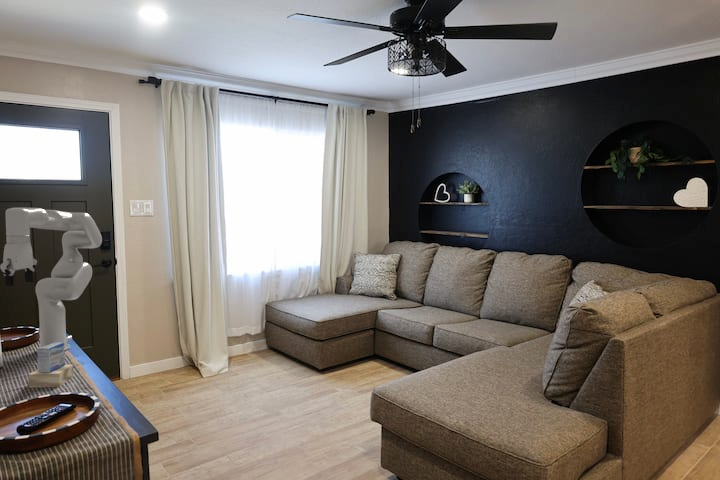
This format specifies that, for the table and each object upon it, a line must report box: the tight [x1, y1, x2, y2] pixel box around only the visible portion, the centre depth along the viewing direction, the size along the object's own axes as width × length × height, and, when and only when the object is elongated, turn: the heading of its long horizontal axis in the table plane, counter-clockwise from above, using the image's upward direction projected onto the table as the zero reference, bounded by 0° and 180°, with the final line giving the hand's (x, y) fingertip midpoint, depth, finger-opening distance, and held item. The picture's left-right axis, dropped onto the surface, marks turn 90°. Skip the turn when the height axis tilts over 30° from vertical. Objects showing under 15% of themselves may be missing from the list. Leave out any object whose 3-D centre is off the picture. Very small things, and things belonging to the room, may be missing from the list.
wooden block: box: [28, 363, 74, 388], centre depth 170 cm, size 10×10×5 cm
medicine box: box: [36, 342, 66, 373], centre depth 170 cm, size 8×4×9 cm, turn 176°
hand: (20, 283), depth 185 cm, fingers open, 9 cm apart
